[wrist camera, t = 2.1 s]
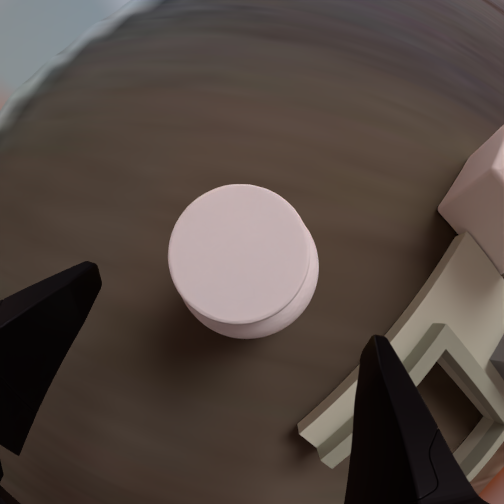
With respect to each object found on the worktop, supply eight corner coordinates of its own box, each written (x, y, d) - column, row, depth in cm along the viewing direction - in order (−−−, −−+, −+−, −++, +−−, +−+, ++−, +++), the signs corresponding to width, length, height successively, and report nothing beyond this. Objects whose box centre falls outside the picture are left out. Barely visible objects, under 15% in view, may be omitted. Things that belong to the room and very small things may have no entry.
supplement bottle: (247, 345, 17) (214, 389, 7) (194, 273, 18) (112, 234, 8) (319, 290, 17) (373, 266, 7) (264, 220, 18) (253, 129, 9)
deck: (415, 508, 13) (441, 543, 7) (297, 423, 15) (305, 467, 10) (535, 353, 14) (577, 356, 9) (454, 236, 17) (502, 213, 11)
